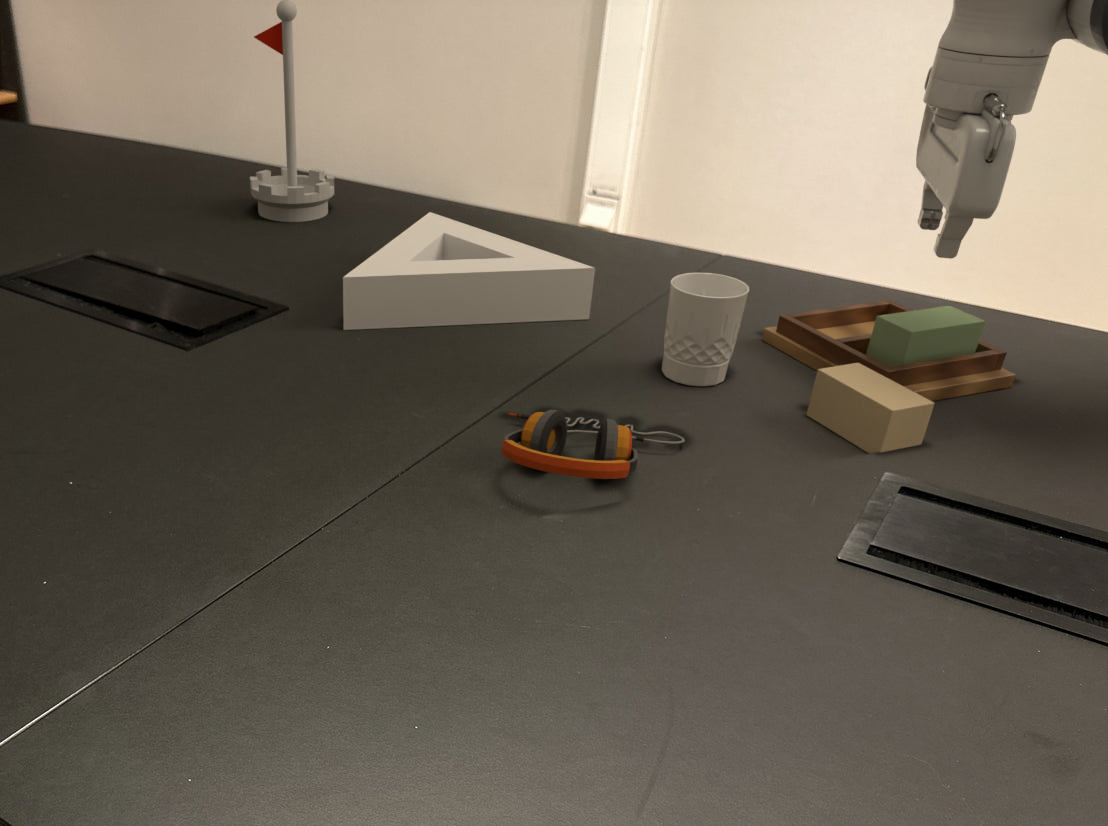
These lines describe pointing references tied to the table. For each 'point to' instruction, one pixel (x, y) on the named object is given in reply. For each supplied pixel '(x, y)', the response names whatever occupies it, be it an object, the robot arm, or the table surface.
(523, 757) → the table surface
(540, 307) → the triangle block
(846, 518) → the table surface
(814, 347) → the wooden tray
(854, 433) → the beige block
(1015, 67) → the robot arm
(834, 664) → the table surface
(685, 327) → the white cup
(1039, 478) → the table surface
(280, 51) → the flag stand
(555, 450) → the headphones
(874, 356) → the sage block
